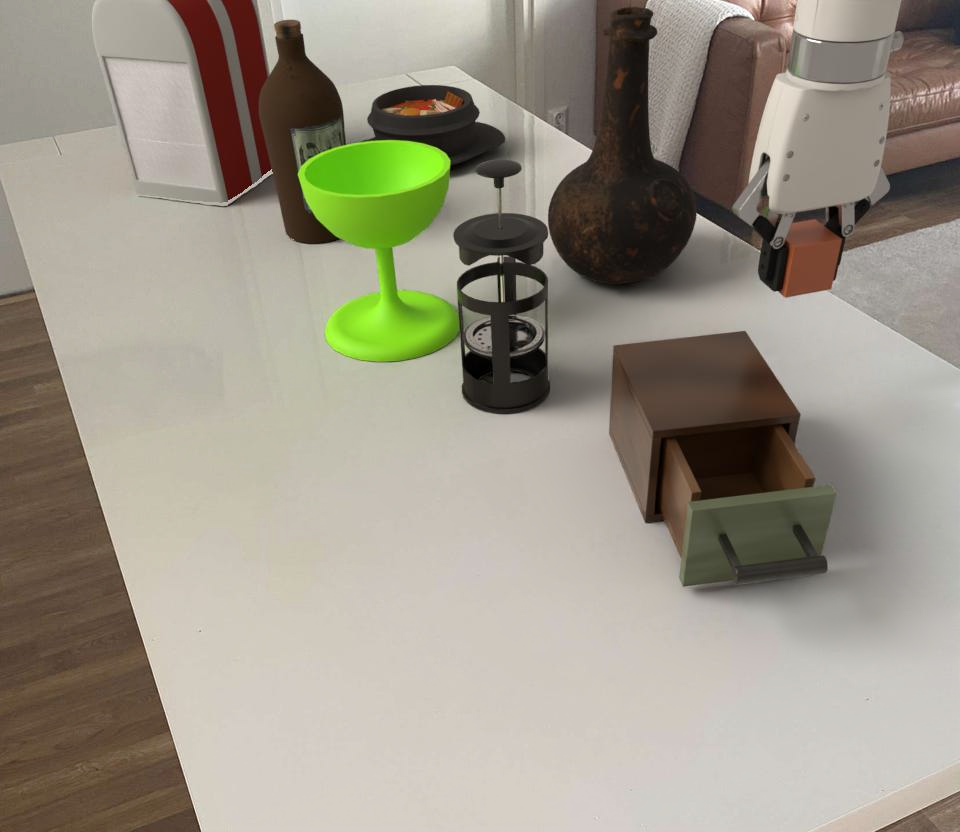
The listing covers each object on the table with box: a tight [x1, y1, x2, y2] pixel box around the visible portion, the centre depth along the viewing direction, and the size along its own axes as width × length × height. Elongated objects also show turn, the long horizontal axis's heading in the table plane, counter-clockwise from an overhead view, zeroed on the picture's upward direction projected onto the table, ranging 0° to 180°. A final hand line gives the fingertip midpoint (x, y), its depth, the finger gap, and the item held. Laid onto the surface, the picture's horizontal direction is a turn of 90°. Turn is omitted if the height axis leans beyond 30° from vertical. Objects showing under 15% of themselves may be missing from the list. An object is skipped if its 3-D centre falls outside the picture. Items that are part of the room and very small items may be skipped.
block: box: [777, 218, 842, 299], centre depth 90 cm, size 5×5×5 cm
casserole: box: [357, 84, 506, 167], centre depth 153 cm, size 25×19×8 cm
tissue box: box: [91, 0, 272, 203], centre depth 144 cm, size 16×18×27 cm
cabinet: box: [608, 330, 802, 524], centre depth 92 cm, size 15×13×10 cm
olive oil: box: [259, 19, 347, 244], centre depth 130 cm, size 11×11×25 cm
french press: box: [453, 158, 551, 414], centre depth 99 cm, size 12×9×23 cm
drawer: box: [656, 424, 838, 588], centre depth 83 cm, size 19×11×8 cm, turn 8°
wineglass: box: [298, 140, 460, 363], centre depth 111 cm, size 16×16×18 cm
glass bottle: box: [547, 6, 698, 285], centre depth 116 cm, size 18×18×28 cm
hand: (796, 278), depth 91 cm, fingers closed on block, 4 cm apart
